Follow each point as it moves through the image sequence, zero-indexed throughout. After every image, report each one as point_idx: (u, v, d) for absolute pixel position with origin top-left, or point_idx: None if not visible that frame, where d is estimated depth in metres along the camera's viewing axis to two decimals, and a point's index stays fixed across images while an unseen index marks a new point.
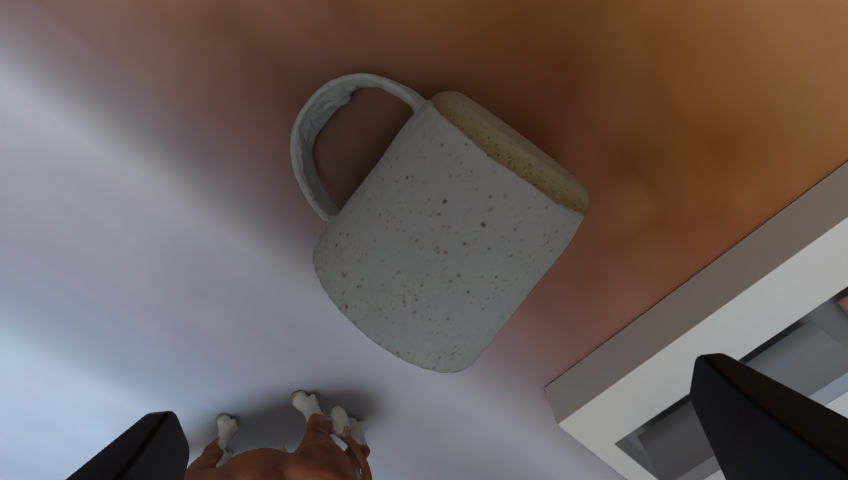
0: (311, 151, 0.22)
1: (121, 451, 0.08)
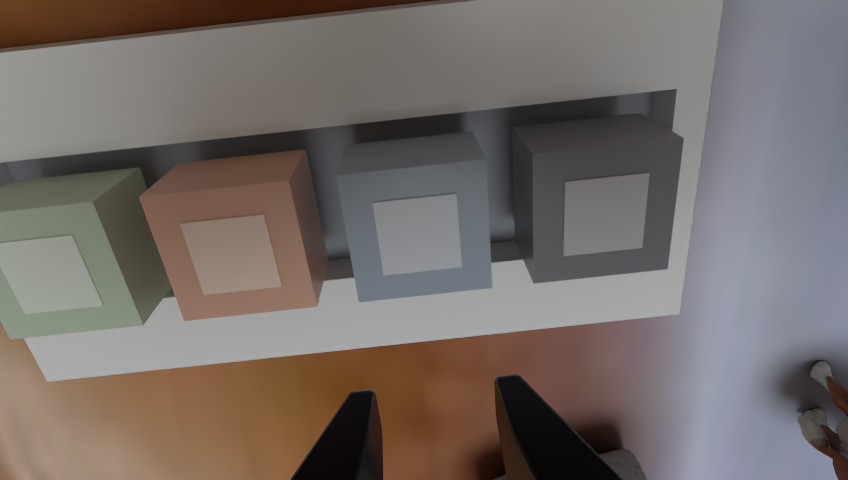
0: None
1: (350, 427, 0.08)
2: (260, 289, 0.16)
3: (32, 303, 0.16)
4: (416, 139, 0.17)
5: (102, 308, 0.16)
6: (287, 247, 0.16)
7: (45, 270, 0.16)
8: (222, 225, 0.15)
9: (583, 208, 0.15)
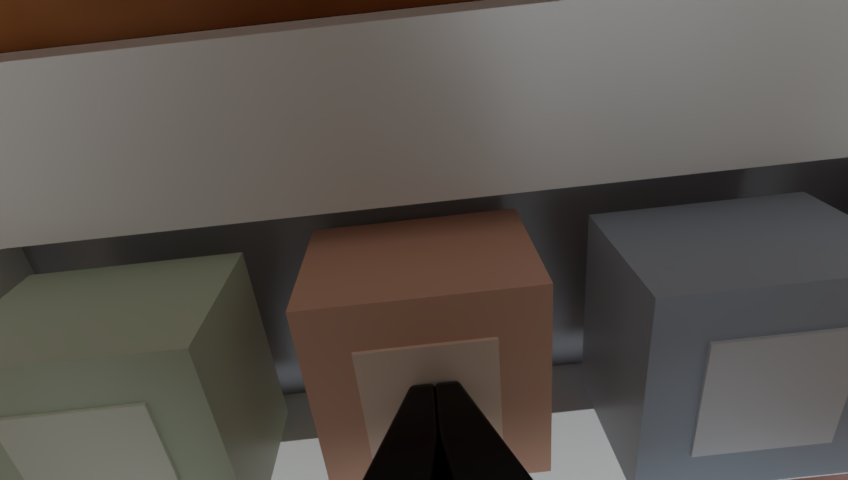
0: None
1: (417, 420, 0.08)
2: None
3: None
4: (715, 207, 0.10)
5: None
6: (524, 387, 0.09)
7: (90, 458, 0.09)
8: (422, 354, 0.09)
9: None
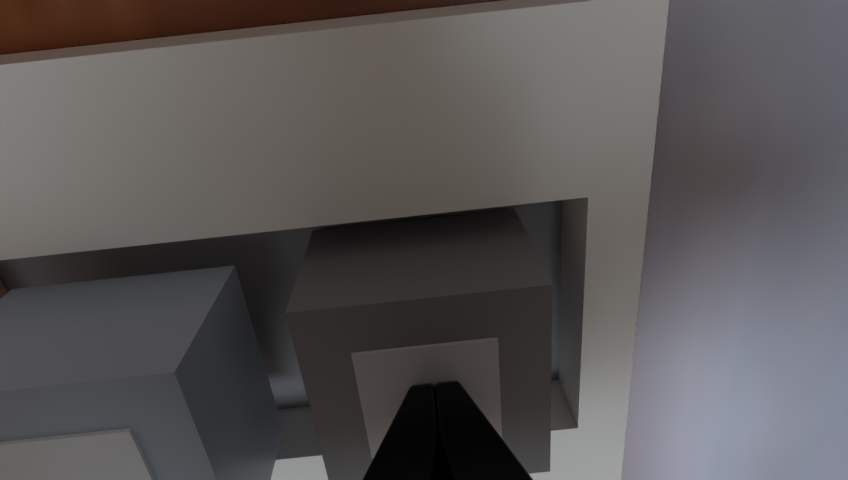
0: None
1: (417, 420, 0.08)
2: None
3: None
4: (129, 283, 0.10)
5: None
6: None
7: None
8: None
9: (392, 391, 0.09)
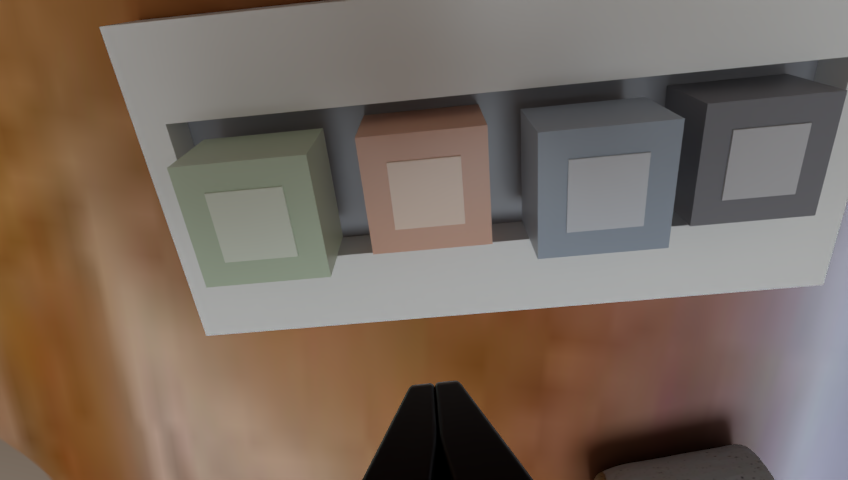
0: None
1: (417, 420, 0.08)
2: (445, 226, 0.18)
3: (232, 253, 0.17)
4: (592, 103, 0.18)
5: (296, 259, 0.17)
6: (475, 187, 0.17)
7: (249, 220, 0.17)
8: (422, 165, 0.17)
9: (745, 156, 0.17)
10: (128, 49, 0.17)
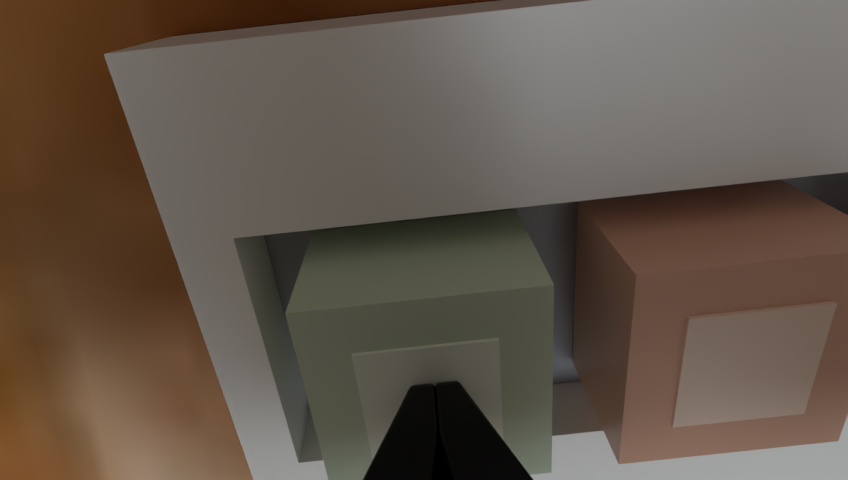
0: None
1: (418, 420, 0.08)
2: (765, 417, 0.10)
3: None
4: None
5: None
6: (842, 353, 0.09)
7: None
8: (754, 319, 0.09)
9: None
10: (164, 99, 0.08)
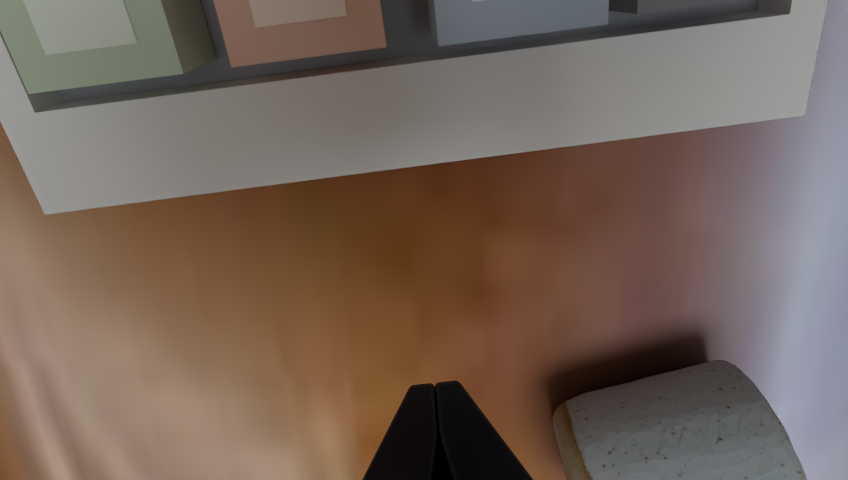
0: None
1: (417, 420, 0.08)
2: (321, 20, 0.14)
3: (54, 41, 0.14)
4: None
5: (136, 48, 0.14)
6: None
7: None
8: None
9: None
10: None
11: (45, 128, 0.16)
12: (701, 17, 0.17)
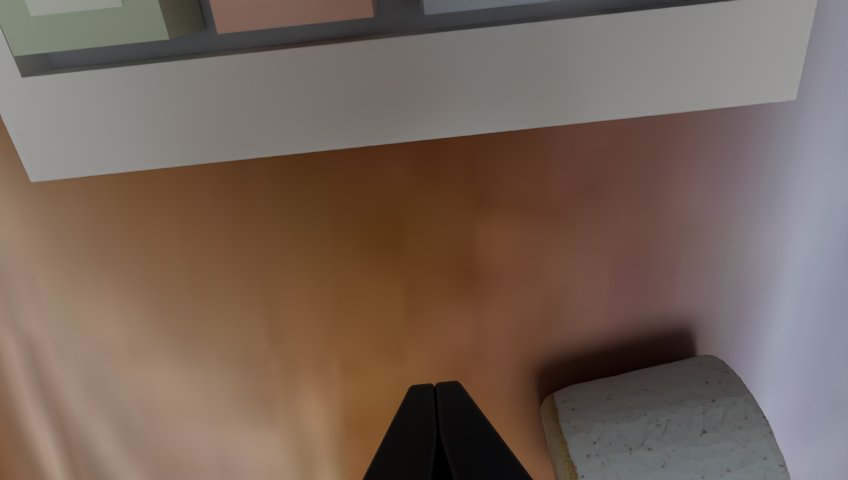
0: None
1: (417, 420, 0.08)
2: None
3: (39, 3, 0.14)
4: None
5: (122, 12, 0.14)
6: None
7: None
8: None
9: None
10: None
11: (32, 94, 0.16)
12: None
